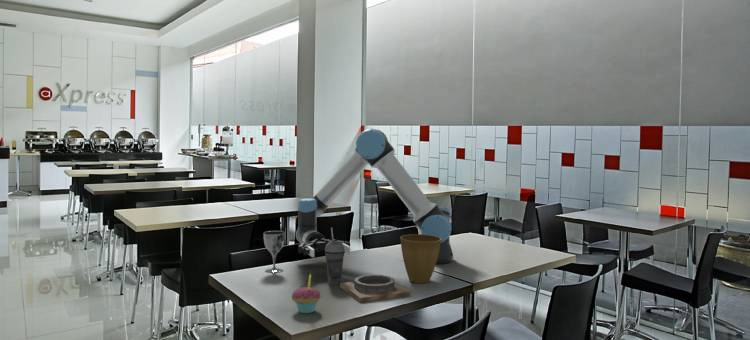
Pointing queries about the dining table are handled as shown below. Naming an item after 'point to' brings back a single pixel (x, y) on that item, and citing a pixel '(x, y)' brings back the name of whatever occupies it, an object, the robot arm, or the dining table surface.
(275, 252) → the wine glass
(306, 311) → the cupcake
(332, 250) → the beverage cup
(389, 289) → the ring holder
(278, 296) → the dining table surface
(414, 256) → the plant pot
